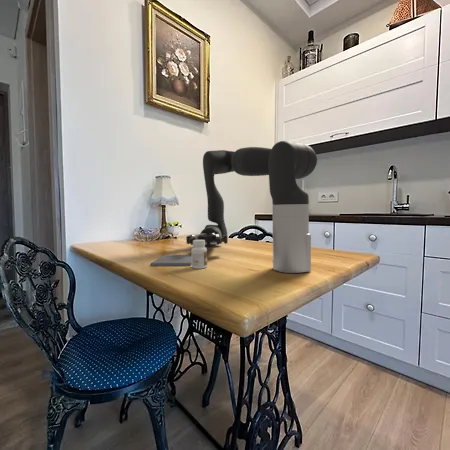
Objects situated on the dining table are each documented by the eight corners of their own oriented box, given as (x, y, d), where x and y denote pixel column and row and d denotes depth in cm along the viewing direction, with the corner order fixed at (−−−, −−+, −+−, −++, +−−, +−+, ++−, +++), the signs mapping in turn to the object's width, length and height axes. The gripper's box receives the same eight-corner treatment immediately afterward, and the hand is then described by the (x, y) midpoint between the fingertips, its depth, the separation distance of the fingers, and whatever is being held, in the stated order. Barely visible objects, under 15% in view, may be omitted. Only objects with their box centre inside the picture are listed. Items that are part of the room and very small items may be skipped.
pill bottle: (208, 268, 72) (208, 240, 71) (193, 269, 71) (192, 241, 70) (205, 265, 76) (204, 239, 76) (190, 266, 75) (189, 239, 74)
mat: (198, 256, 89) (198, 254, 89) (190, 265, 76) (190, 263, 75) (164, 257, 90) (164, 254, 90) (150, 265, 76) (150, 263, 76)
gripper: (192, 227, 100) (182, 230, 84) (229, 226, 99) (226, 229, 83) (192, 246, 100) (183, 253, 84) (229, 245, 99) (226, 252, 83)
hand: (204, 241), depth 84 cm, fingers open, 8 cm apart
